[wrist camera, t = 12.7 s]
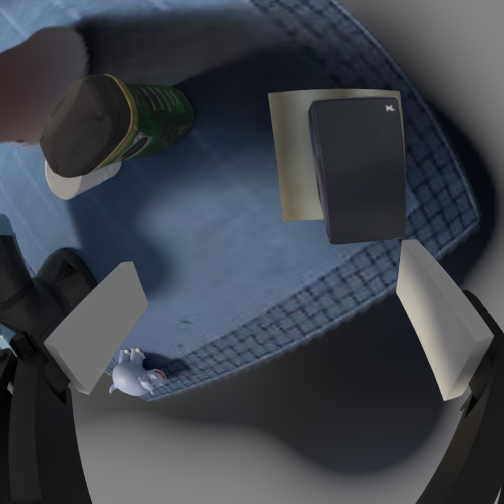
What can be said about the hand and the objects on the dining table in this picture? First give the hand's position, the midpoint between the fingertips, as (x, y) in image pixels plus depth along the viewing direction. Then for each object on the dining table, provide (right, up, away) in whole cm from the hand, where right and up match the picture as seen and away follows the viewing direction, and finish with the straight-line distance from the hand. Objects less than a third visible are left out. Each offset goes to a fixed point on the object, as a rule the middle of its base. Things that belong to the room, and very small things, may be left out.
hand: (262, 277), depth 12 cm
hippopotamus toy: (-25, -25, +44) cm, 56 cm away
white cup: (-23, +16, +24) cm, 37 cm away
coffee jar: (-13, +19, +20) cm, 30 cm away
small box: (+9, +11, +13) cm, 20 cm away
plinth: (+10, +14, +18) cm, 25 cm away
